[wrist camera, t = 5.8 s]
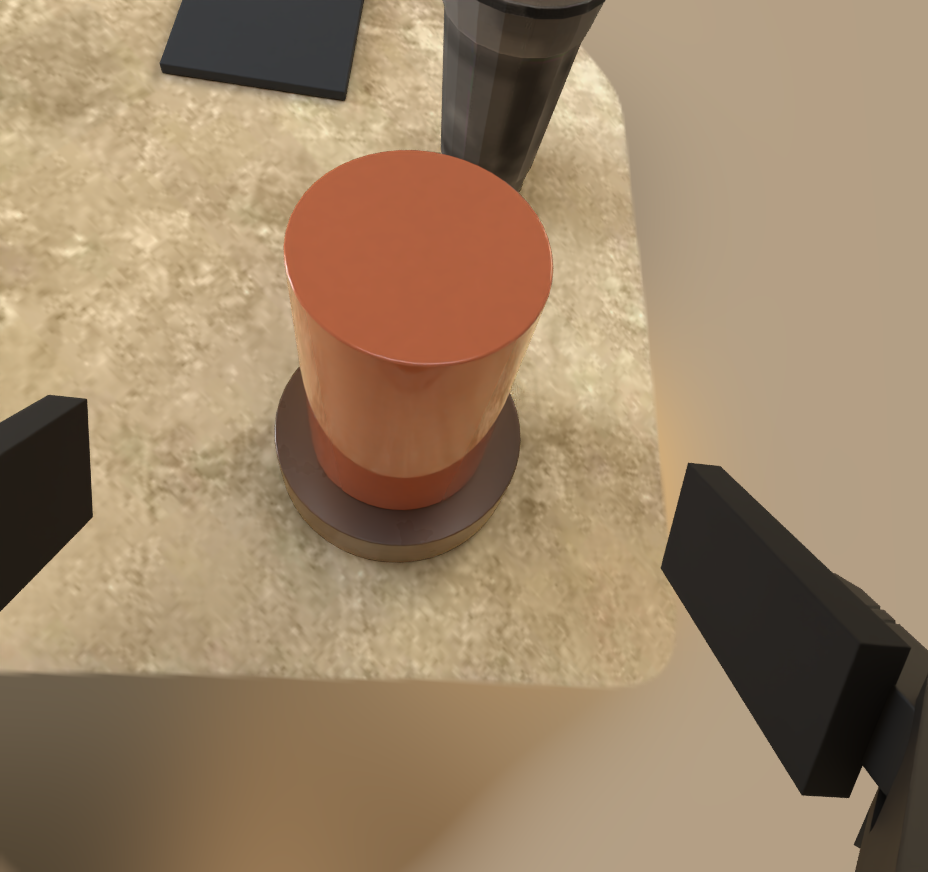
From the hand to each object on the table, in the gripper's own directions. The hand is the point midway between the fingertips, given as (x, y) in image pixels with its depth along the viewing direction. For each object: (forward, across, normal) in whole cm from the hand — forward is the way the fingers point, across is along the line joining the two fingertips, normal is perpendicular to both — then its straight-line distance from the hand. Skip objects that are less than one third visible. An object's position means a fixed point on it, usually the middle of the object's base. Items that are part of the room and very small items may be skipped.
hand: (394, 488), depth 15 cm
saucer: (+15, 0, -5) cm, 15 cm away
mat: (+33, -10, +14) cm, 37 cm away
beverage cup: (+27, +3, +7) cm, 28 cm away
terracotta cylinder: (+13, 0, -3) cm, 13 cm away
